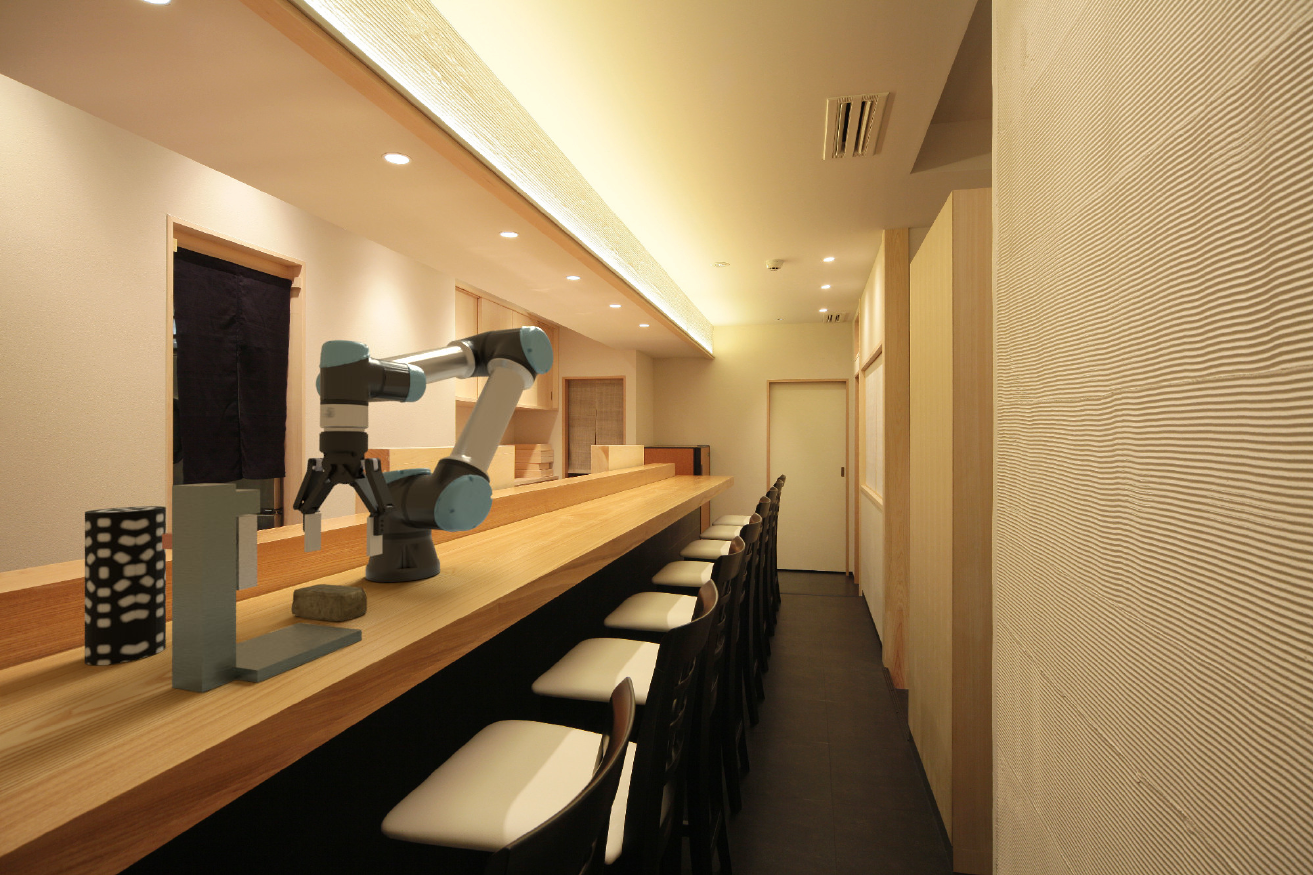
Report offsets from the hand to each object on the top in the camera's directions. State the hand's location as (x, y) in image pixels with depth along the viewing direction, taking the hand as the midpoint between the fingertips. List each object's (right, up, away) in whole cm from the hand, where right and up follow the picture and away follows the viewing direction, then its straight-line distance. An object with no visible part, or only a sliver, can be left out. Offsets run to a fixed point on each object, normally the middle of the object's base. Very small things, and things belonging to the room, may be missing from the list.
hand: (342, 553), depth 101 cm
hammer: (-4, +1, -25) cm, 25 cm away
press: (+2, -10, -23) cm, 25 cm away
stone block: (-1, -10, -3) cm, 11 cm away
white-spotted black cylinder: (-19, -10, -20) cm, 30 cm away
